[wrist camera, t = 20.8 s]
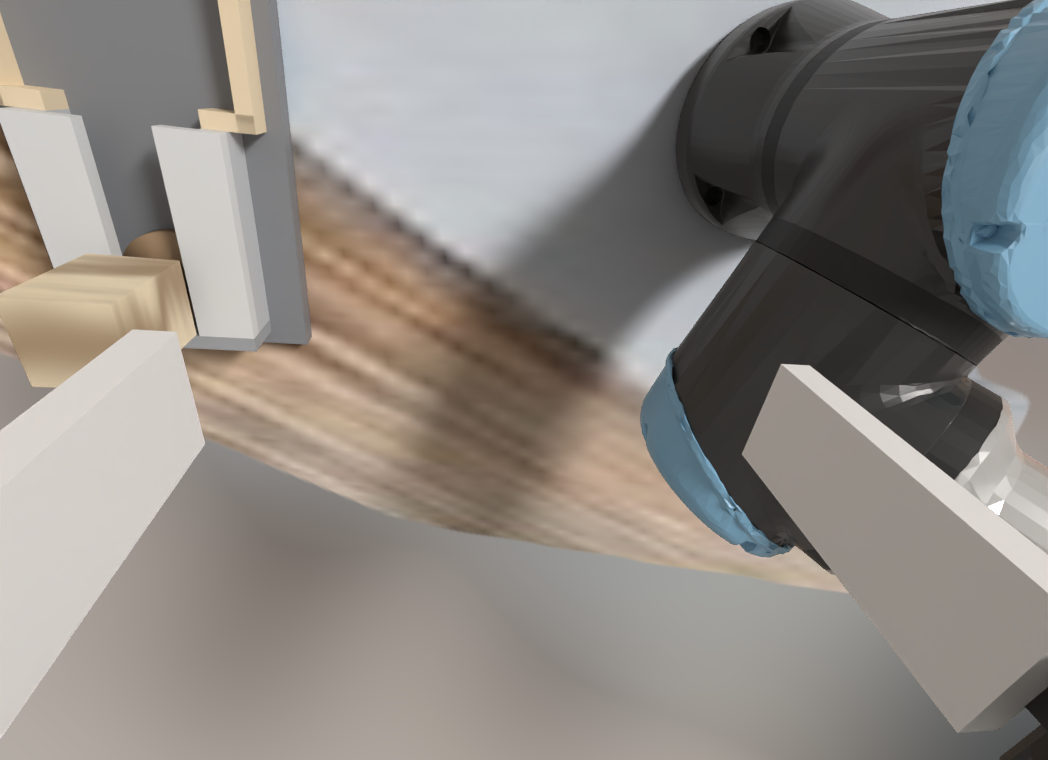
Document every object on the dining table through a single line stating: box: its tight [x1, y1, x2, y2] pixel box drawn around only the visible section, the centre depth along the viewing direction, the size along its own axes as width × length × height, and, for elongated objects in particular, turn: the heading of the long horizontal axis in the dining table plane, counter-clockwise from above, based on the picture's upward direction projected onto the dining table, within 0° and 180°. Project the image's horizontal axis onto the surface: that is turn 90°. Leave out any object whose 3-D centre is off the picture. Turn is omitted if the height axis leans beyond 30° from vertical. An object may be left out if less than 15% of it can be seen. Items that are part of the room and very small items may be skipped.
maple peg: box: [0, 229, 197, 388], centre depth 30 cm, size 6×6×12 cm
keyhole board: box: [0, 0, 312, 352], centre depth 30 cm, size 28×16×5 cm, turn 173°
